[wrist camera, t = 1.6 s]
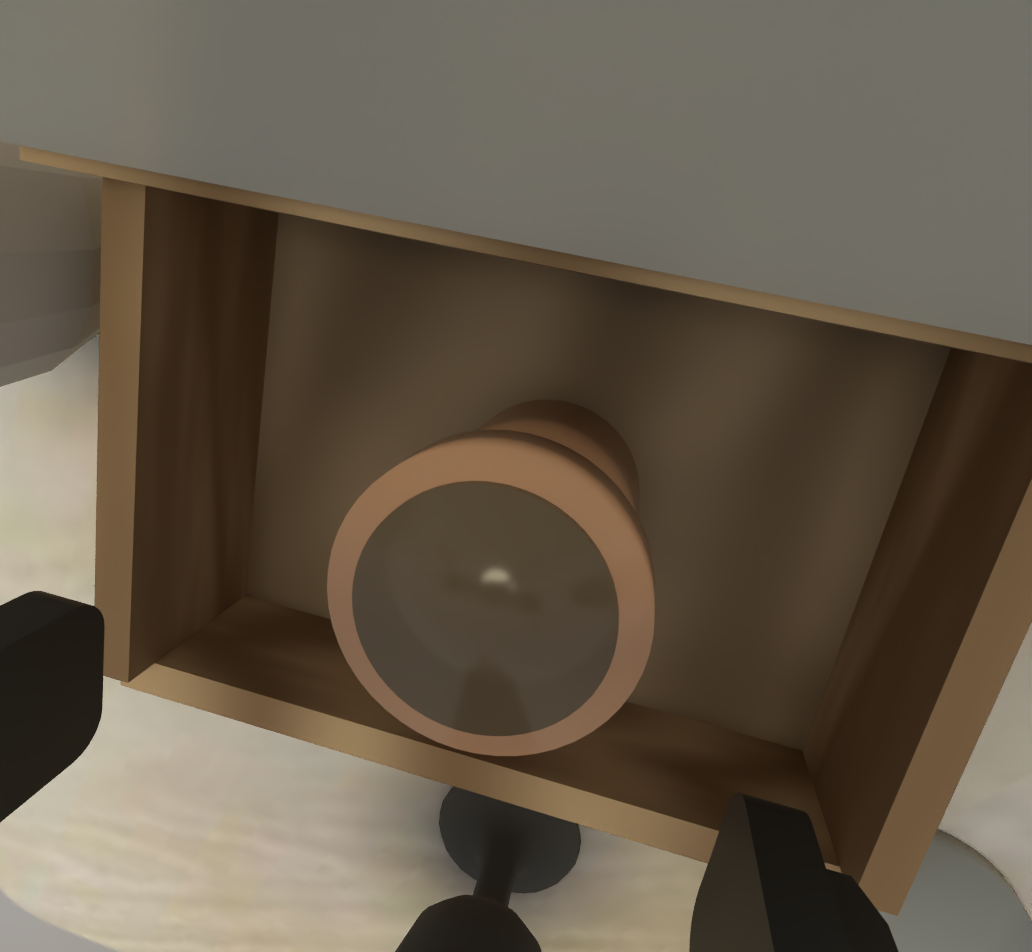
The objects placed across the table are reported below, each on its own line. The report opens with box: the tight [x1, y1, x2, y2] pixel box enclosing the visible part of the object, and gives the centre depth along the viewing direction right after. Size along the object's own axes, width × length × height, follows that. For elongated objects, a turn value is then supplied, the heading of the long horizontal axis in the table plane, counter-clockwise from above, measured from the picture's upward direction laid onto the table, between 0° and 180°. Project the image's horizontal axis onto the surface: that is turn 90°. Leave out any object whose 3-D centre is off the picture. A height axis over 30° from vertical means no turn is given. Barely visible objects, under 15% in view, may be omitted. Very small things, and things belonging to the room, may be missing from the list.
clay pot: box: [327, 399, 655, 756], centre depth 16 cm, size 6×6×8 cm
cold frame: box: [19, 145, 1032, 916], centre depth 17 cm, size 20×14×8 cm
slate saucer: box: [878, 830, 1032, 952], centre depth 22 cm, size 10×10×1 cm
